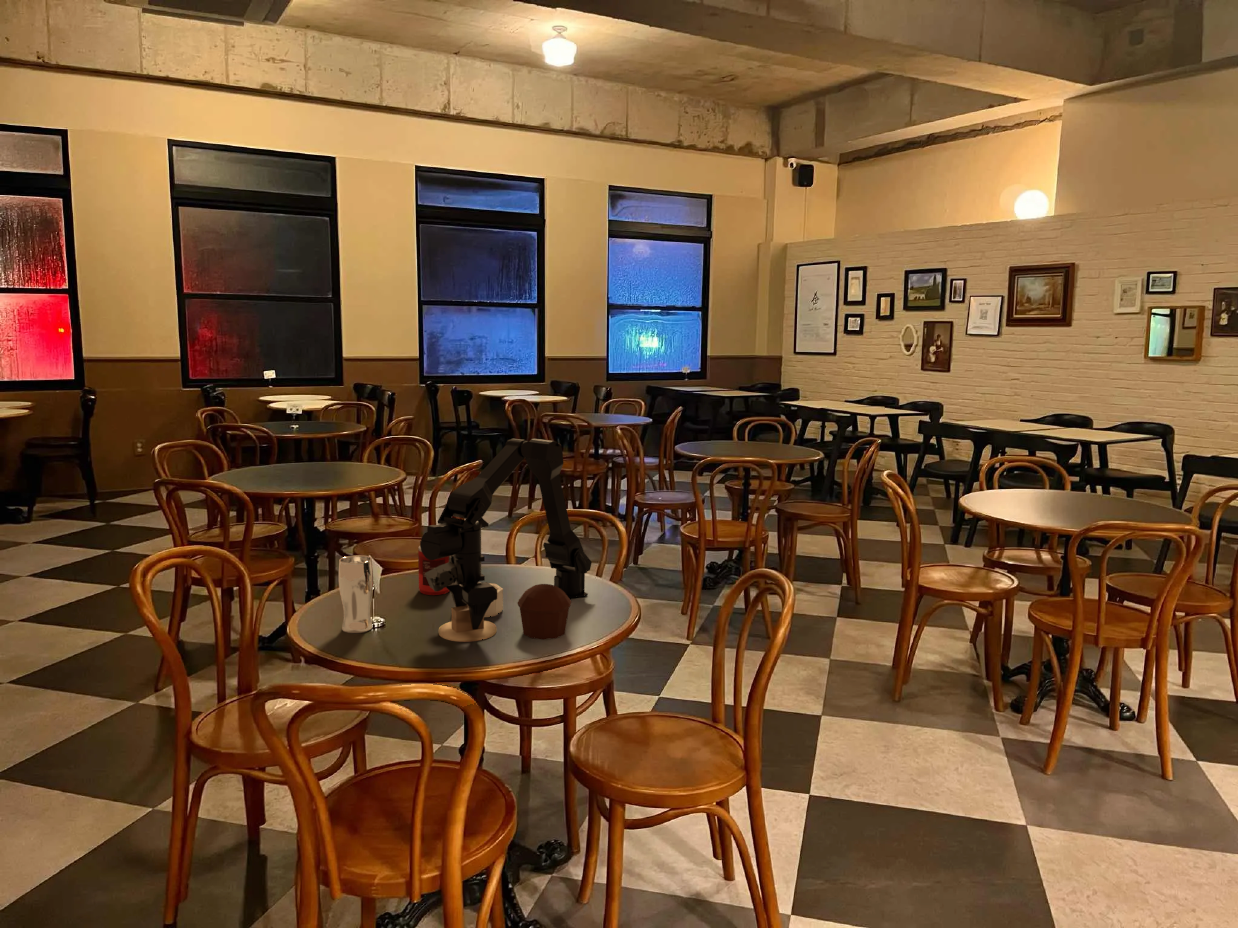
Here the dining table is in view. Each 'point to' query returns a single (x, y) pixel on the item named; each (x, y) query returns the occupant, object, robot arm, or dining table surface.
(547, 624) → the muffin
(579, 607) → the dining table surface
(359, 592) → the beer glass
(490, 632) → the lid
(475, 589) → the robot arm
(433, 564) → the canned food
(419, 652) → the dining table surface
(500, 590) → the hollow octagonal cup
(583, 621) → the dining table surface
